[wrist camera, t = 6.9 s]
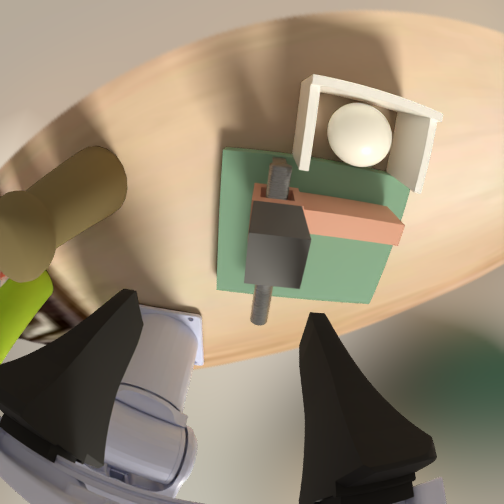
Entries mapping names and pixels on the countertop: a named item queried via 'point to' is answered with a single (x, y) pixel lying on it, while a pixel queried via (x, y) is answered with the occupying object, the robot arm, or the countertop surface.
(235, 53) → the countertop surface
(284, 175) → the rod
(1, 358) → the soap dispenser
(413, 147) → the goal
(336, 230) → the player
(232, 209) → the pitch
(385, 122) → the ball
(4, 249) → the cork
